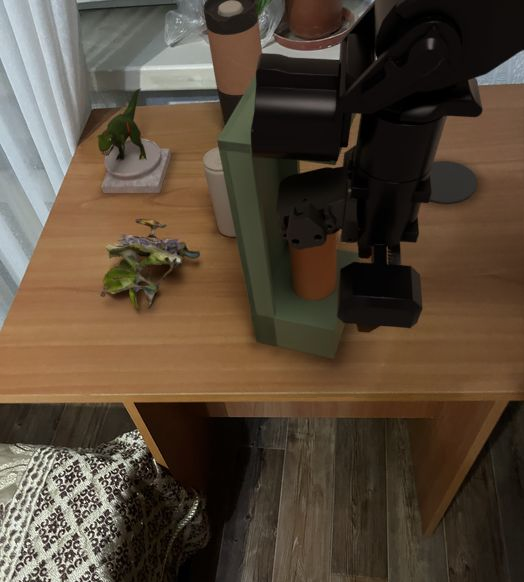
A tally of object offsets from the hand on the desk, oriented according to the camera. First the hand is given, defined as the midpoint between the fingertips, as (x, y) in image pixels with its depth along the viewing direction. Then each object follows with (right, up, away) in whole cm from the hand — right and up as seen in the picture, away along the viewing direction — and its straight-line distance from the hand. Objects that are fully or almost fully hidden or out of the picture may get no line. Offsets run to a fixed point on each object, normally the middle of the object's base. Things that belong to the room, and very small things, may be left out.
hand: (363, 292), depth 54 cm
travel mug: (-12, +31, +40) cm, 52 cm away
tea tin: (-4, +2, +12) cm, 12 cm away
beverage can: (-14, +12, +27) cm, 33 cm away
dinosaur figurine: (-30, +24, +37) cm, 53 cm away
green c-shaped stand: (-3, -1, +17) cm, 17 cm away
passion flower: (-25, +3, +22) cm, 33 cm away
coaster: (+17, +19, +28) cm, 37 cm away
